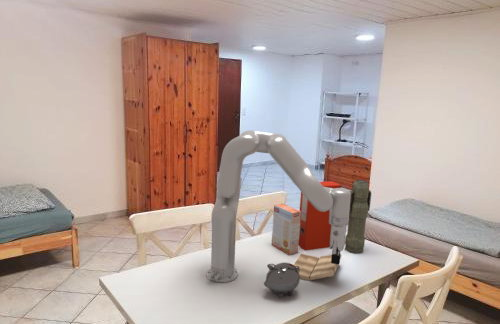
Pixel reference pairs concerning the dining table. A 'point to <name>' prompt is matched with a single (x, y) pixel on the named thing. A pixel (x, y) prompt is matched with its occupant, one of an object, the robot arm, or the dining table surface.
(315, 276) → the board
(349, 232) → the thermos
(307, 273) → the laid planks
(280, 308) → the dining table surface
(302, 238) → the file binder
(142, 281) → the dining table surface
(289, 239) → the cracker box
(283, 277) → the piggy bank
